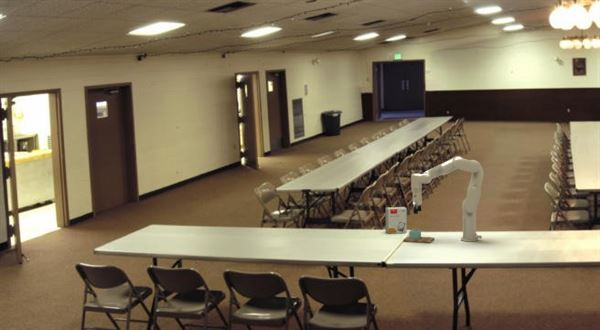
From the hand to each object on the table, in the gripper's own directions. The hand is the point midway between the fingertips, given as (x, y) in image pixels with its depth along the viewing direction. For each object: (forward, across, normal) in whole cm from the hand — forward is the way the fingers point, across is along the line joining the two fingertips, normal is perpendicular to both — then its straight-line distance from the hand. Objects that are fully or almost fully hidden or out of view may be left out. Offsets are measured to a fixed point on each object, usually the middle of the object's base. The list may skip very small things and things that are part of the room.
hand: (417, 212), depth 537 cm
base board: (+21, -2, -1) cm, 21 cm away
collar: (+20, -2, +2) cm, 20 cm away
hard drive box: (+21, +21, +24) cm, 38 cm away
